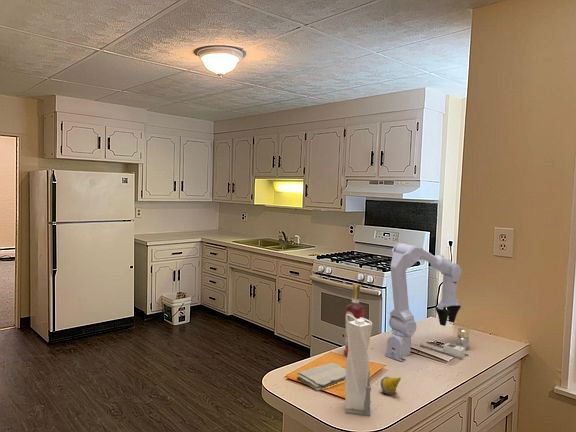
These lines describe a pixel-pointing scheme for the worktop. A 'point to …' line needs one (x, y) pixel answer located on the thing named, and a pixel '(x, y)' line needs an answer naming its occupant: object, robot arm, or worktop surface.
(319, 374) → the washcloth
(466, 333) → the marbled round peg
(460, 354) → the block
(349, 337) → the skyscraper
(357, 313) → the liquor
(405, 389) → the worktop surface
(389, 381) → the yellow pear
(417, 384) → the worktop surface
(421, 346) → the board
